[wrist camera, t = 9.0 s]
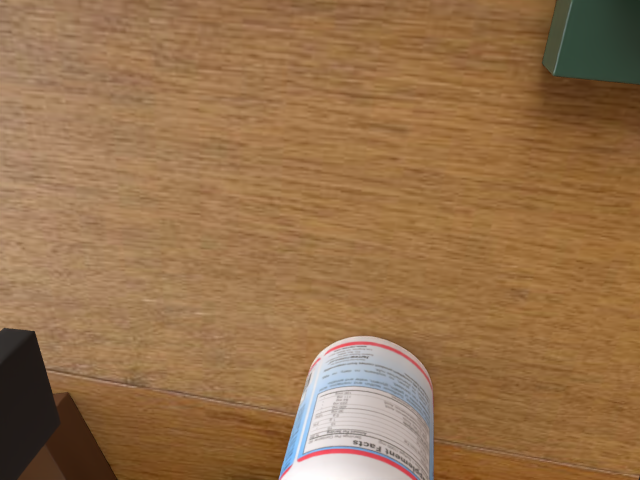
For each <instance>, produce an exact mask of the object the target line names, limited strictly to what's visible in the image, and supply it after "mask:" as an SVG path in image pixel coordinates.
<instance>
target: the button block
mask: <svg viewBox="0 0 640 480" xmlns="http://www.w3.org/2000/svg"><path fill="white" fill-rule="evenodd" d="M542 64H543V65H544V66H545V67H546V68H547V69H548V71H549V72H550V73H551V74H552V75H553V76H556V77H567V78H577V79H587V80H598V81H608V82H618V83H629V84H639V85H640V0H557V2H556V6H555V10H554V15H553V19H552V23H551V27H550V32H549V36H548V40H547V44H546V49H545V53H544V57H543V61H542Z"/></svg>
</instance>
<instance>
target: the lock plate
mask: <svg viewBox="0 0 640 480" xmlns="http://www.w3.org/2000/svg"><path fill="white" fill-rule="evenodd" d="M53 397H54V400H55V404H56V407H57V411H58V414H59V418H60V421H61V424H60V425H59V427H58V428H57V429H56V430H55V432H54V433H53V434H52V436H51V437H50V438H49V439H48V441H47V442H46V443H45V445H44V446H43V447H42V448H41V450H40V451H39V452H38V453H37V455H36V456H35V457H34V459H33V460H32V461H31V462H30V464H29V465H28V466H27V468H26V469H25V470H24V471H23V473H22V474H21V475H20V476H19V478H18V479H17V480H117V479H116V477H115V475H114V474H113V472H112V470H111V468H110V467H109V465H108V463H107V461H106V459H105V458H104V456H103V454H102V452H101V450H100V449H99V447H98V445H97V443H96V441H95V440H94V438H93V436H92V434H91V433H90V431H89V429H88V427H87V425H86V424H85V422H84V420H83V418H82V416H81V415H80V413H79V411H78V409H77V407H76V406H75V404H74V402H73V400H72V399H71V397H70V395H69V393H58V394H53Z"/></svg>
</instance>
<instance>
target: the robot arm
mask: <svg viewBox="0 0 640 480" xmlns="http://www.w3.org/2000/svg"><path fill="white" fill-rule="evenodd" d="M60 424H61V421H60V418H59V414H58V411H57V407H56V404H55V400H54V397H53V393H52V390H51V386H50V383H49V379H48V376H47V372H46V369H45V365H44V362H43V358H42V355H41V352H40V348H39V345H38V341H37V338H36V334H35V331H28V330H18V329H8V328H4V329H2V330H1V331H0V480H17V479H18V478H19V476H20V475H21V474H22V473H23V471H24V470H25V469H26V468H27V466H28V465H29V464H30V462H31V461H32V460H33V459H34V457H35V456H36V455H37V453H38V452H39V451H40V450H41V448H42V447H43V446H44V445H45V443H46V442H47V441H48V439H49V438H50V437H51V436H52V434H53V433H54V432H55V430H56V429H57V428H58V427H59V425H60ZM639 480H640V477H639Z"/></svg>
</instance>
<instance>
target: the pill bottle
mask: <svg viewBox="0 0 640 480" xmlns="http://www.w3.org/2000/svg"><path fill="white" fill-rule="evenodd" d="M433 409H434V406H433V387H432V382H431V379H430V376H429V374H428V372H427V370H426V369H425V367H424V366H423V364H422V363H421V362H420V361H419V360H418V359H417V358H416V357H415V356H414V355H413V354H411V353H410V352H409V351H407V350H406V349H404V348H402V347H401V346H399V345H397V344H395V343H393V342H390V341H388V340H385V339H381V338H377V337H372V336H356V337H350V338H346V339H343V340H340V341H337V342H335V343H333V344H331V345H330V346H328V347H327V348H325V349H324V350H323V351H322V352H321V353H320V354H319V355H318V356H317V357H316V359H315V360H314V362H313V364H312V366H311V368H310V371H309V374H308V377H307V380H306V384H305V387H304V391H303V394H302V398H301V401H300V405H299V408H298V412H297V416H296V419H295V423H294V426H293V430H292V433H291V437H290V440H289V444H288V448H287V451H286V455H285V458H284V462H283V466H282V469H281V473H280V476H279V480H434V411H433Z"/></svg>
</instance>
